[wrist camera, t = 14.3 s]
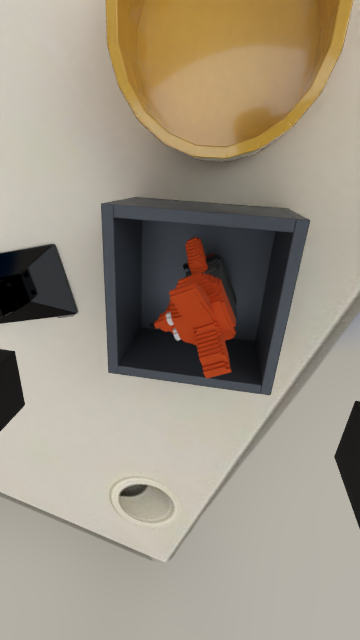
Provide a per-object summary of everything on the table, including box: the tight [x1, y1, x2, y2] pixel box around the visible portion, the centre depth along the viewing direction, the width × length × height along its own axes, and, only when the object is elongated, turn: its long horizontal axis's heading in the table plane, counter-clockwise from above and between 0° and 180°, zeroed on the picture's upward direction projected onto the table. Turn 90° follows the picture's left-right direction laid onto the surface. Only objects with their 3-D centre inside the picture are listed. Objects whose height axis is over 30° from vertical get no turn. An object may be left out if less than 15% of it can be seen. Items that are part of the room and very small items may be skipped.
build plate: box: [0, 244, 78, 324], centre depth 29 cm, size 12×7×5 cm, turn 102°
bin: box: [101, 197, 310, 395], centre depth 25 cm, size 13×13×8 cm
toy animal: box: [149, 237, 237, 378], centre depth 22 cm, size 8×6×12 cm
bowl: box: [106, 0, 353, 162], centre depth 19 cm, size 13×13×4 cm
